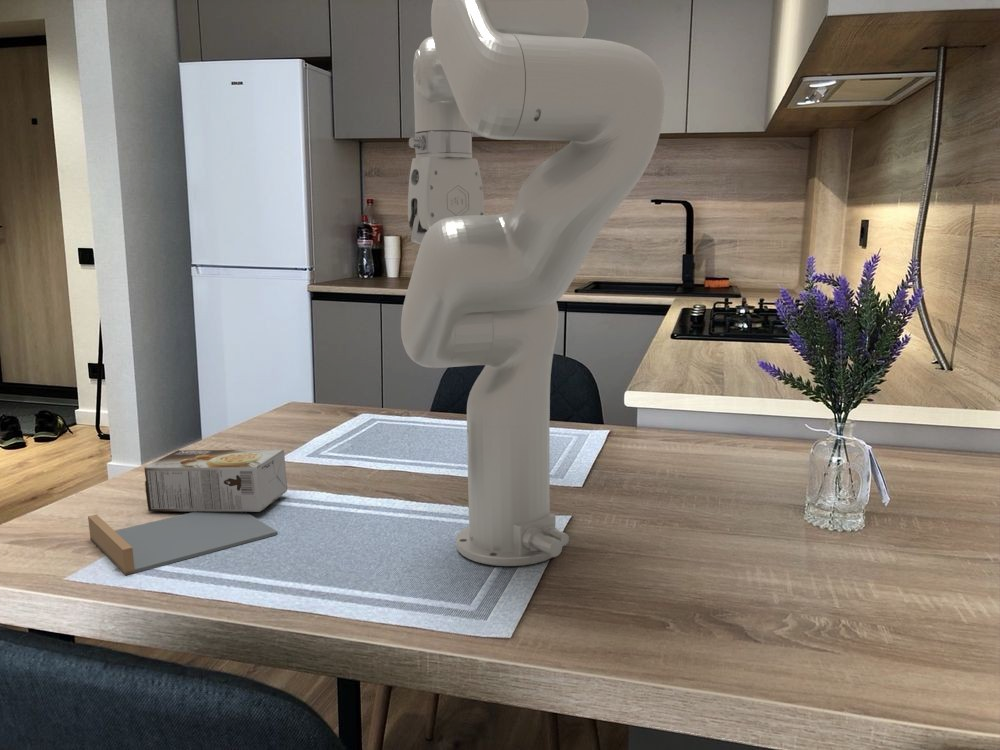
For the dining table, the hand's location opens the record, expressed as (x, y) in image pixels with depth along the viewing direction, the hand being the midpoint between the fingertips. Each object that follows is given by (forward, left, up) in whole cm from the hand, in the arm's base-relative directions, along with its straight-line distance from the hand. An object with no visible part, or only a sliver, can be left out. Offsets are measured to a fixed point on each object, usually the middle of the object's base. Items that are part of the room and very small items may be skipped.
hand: (447, 285), depth 115 cm
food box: (+10, +23, -25) cm, 35 cm away
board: (+7, +36, -29) cm, 47 cm away
